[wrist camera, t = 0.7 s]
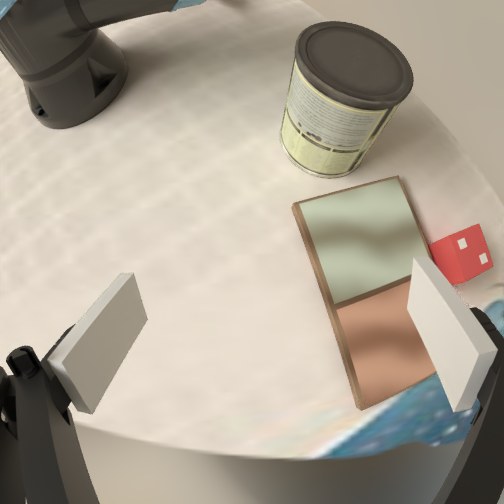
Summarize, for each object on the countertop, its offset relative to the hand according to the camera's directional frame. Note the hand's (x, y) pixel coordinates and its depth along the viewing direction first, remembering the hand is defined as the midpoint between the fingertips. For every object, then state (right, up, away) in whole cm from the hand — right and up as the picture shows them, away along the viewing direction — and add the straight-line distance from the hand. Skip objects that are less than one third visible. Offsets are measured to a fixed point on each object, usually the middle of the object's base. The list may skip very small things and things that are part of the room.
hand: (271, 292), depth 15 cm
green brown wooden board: (+13, -2, +18) cm, 22 cm away
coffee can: (+7, +15, +21) cm, 27 cm away
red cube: (+22, +1, +19) cm, 29 cm away
